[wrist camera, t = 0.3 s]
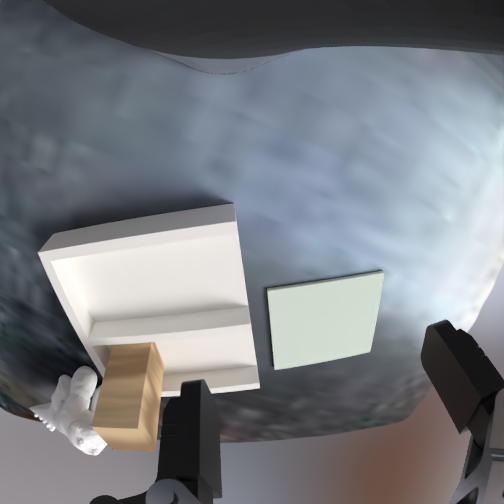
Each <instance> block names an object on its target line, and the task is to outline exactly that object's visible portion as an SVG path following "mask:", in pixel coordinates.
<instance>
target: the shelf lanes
mask: <svg viewBox="0 0 504 504" xmlns="http://www.w3.org/2000/svg"><path fill="white" fill-rule="evenodd" d="M38 254H39V257H40V259H41V261H42V264H43V266H44V268H45V271H46V273H47V275H48V277H49V279H50V282H51V284H52V286H53V288H54V290H55V292H56V294H57V296H58V298H59V300H60V302H61V304H62V306H63V308H64V310H65V312H66V314H67V316H68V318H69V320H70V322H71V324H72V326H73V327H74V329H75V331H76V333H77V335H78V337H79V338H80V340H81V342H82V344H83V345H84V347H85V349H86V350H87V352H88V354H89V356H90V357H91V359H92V361H93V362H94V364H95V365H96V367H97V369H98V370H99V372H100V373H101V375H102V377H104V374H105V370H106V366H107V363H108V359H109V356H110V352H111V349H112V346H113V345H117V344H134V343H148V342H155V344H156V347H157V349H158V351H159V354H160V356H161V358H162V360H163V363H164V373H163V381H162V390H161V397H165V396H180V390H181V384H182V382H184V381H191V380H199V379H204V380H205V382H206V384H207V386H208V388H209V390H210V392H211V393H221V392H231V391H240V390H249V389H257V388H260V385H259V377H258V370H257V362H256V356H255V349H254V342H253V335H252V328H251V321H250V314H249V308H248V301H247V294H246V286H245V279H244V272H243V265H242V258H241V251H240V244H239V236H238V229H237V222H236V214H235V207H234V203H232V204H225V205H218V206H210V207H203V208H197V209H190V210H183V211H177V212H170V213H164V214H158V215H152V216H146V217H140V218H134V219H128V220H122V221H116V222H111V223H105V224H100V225H95V226H89V227H84V228H79V229H74V230H69V231H64V232H59V233H54V234H53V235H52V236H51V237H50V238H49V240H48V241H47V242H46V243H45V244H44V246H43V247H42V248H41V249H40V250H39V252H38Z"/></svg>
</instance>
